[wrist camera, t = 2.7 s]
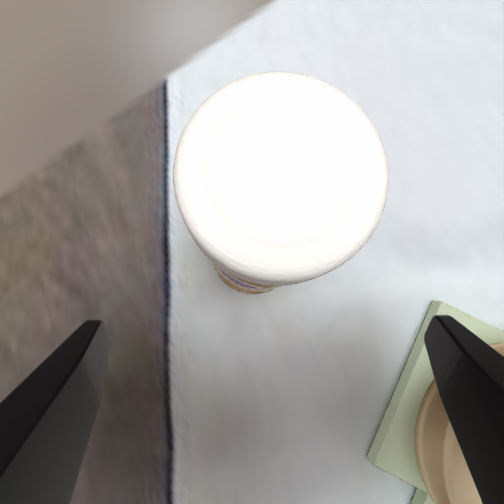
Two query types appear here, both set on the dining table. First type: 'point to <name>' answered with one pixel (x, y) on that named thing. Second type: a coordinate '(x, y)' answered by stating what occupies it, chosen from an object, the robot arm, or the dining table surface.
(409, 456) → the notched board
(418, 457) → the bobbin
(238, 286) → the sprinkles bottle
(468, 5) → the dining table surface
